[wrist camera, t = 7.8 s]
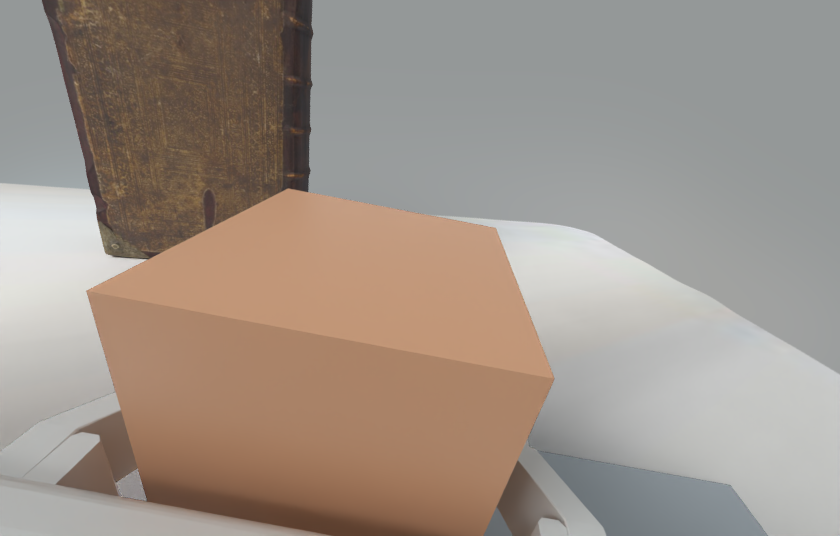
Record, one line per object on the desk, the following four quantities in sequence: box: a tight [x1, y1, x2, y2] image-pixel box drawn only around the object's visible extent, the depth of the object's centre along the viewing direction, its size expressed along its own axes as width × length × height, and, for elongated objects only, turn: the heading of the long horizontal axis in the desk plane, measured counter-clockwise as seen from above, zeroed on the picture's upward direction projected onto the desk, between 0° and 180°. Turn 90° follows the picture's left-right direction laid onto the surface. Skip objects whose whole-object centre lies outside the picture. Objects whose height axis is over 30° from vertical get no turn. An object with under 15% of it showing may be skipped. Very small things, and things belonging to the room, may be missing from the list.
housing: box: [86, 189, 554, 536], centre depth 10 cm, size 6×6×11 cm
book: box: [42, 0, 313, 258], centre depth 29 cm, size 17×7×25 cm, turn 93°
